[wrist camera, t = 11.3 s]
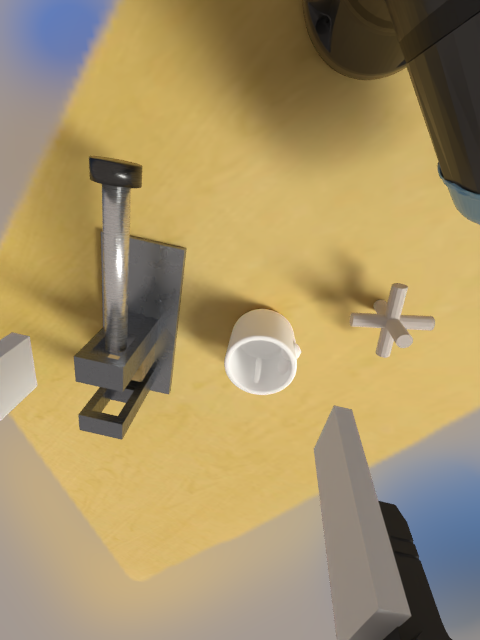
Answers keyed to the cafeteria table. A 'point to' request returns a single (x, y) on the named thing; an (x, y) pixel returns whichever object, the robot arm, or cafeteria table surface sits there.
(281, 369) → the mug
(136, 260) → the bearing block
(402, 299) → the pipe connector
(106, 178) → the shaft
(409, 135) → the cafeteria table surface
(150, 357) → the spacer
